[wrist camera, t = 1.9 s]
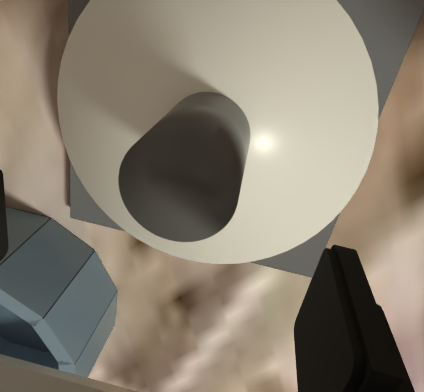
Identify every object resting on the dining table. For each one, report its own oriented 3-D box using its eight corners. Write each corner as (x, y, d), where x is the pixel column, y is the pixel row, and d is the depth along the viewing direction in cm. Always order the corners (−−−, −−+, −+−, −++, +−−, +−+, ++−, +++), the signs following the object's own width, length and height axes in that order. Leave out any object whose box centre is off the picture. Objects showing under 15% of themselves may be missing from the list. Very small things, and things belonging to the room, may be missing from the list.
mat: (77, -81, 16) (67, -86, 15) (425, -12, 15) (432, -13, 14) (76, 211, 23) (70, 217, 22) (311, 269, 22) (312, 277, 21)
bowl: (-68, 188, 24) (-167, 239, 18) (121, 235, 23) (75, 302, 18) (-39, 325, 30) (-106, 392, 25) (111, 365, 29) (75, 443, 24)
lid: (68, -86, 15) (-86, -158, 9) (432, -13, 14) (561, -32, 8) (70, 217, 22) (-13, 301, 16) (312, 277, 21) (328, 390, 15)
